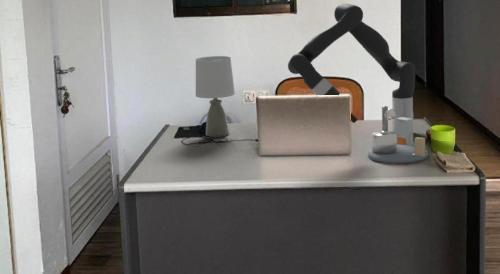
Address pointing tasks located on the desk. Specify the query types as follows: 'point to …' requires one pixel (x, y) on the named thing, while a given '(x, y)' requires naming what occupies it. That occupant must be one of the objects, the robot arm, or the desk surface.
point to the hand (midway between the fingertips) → (355, 121)
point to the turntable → (403, 153)
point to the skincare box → (404, 131)
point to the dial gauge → (387, 117)
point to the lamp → (215, 90)
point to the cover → (384, 142)
